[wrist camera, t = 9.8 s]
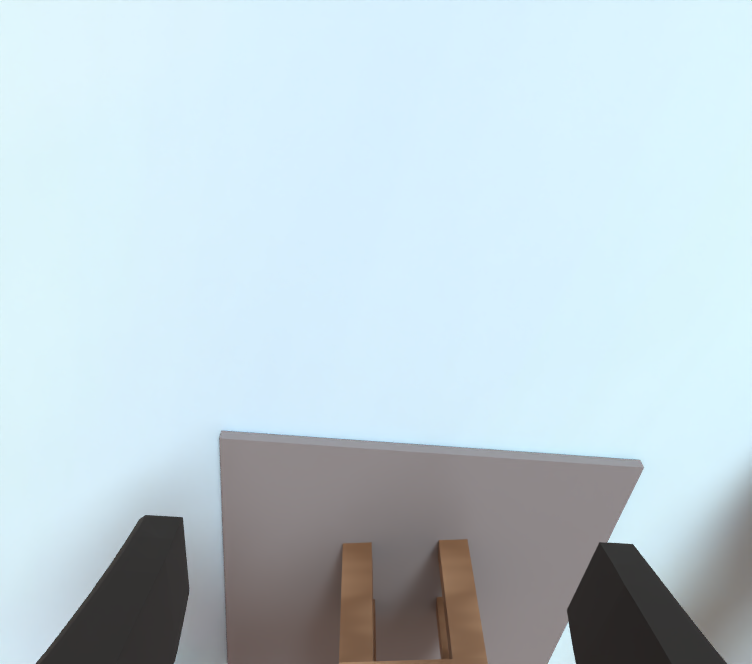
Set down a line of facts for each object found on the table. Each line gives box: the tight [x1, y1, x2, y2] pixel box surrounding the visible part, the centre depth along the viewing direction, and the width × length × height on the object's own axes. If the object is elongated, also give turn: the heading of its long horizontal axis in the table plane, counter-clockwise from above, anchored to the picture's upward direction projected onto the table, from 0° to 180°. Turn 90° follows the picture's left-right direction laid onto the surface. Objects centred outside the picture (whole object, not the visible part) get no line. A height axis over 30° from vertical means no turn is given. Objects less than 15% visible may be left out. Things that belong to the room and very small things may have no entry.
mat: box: [219, 431, 644, 664], centre depth 28 cm, size 16×16×1 cm
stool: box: [339, 539, 488, 664], centre depth 25 cm, size 5×5×7 cm
